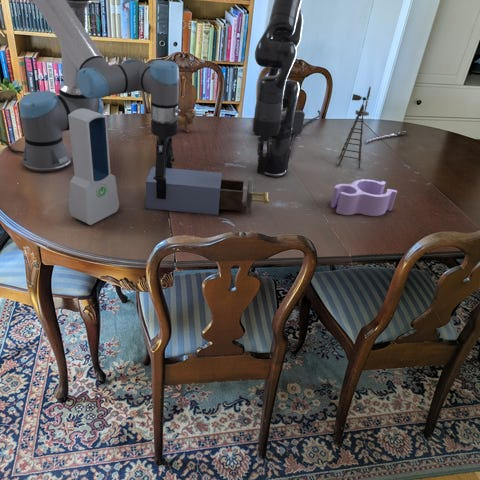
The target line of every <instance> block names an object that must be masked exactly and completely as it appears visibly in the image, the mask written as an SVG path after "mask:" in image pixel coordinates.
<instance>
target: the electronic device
mask: <svg viewBox="0 0 480 480" xmlns="http://www.w3.org/2000/svg"><path fill="white" fill-rule="evenodd" d="M68 119H69V128H70V130H69V135H70V136H69V137H70V145H71V154H72V155H71V156H72V164H73V172H74V175H73V176H72V178H71V180H70V181H69V184H70V185H69V196H68V197H69V199H68V211H69V213H70V216H71V217H73V218H74V219H76V220H78V221H81V222H83V223H84V224H87V225H89V226H92V225H94V224H96V223H98V222H99V221H102V220H103V219H105V218H107V217H109V216H111V215H113V214H115V213H117V212H118V210H119V208H120V202H119V195H118V188H117V181H116V175H114V174H112V173H111V161H110V145H109V143H110V142H109V130H108V116H107V115H106V114H104V113H103V114H100V113H97V112H94V111H91V110H88V109H77V110H75V111H73V112H71V113H70V114H69V115H68Z"/></svg>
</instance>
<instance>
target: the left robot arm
mask: <svg viewBox="0 0 480 480" xmlns="http://www.w3.org/2000/svg"><path fill="white" fill-rule="evenodd" d="M93 1H94V0H28V2H30V3H32V4H34V5H35V6H36V8H37V10H38V11H39V13H40V14H41V15H42V18H44V20H45V22H46V23H47V25H48V26H49V28H50V29H51V31H52V32H53V34H54V36H55V37H56V39H57V40H58V41H59V43H60V52H61V66H62V67H61V68H62V82H61V83H60V84H59V86H58V94H56V92H54V91H51V90H42V91H41V90H37V91H32V92H30V93H26V94H24V96H22V97H21V99H20V100H19V103H18V104H19V116H20V120H21V126H22V132H23V136H24V148H23V150H19V149H18V150H17V149H14V148H11V146H10V144H9V142H7V141H6V140H4V139H1V138H0V142H1V143H4V144H5V145H6V147H7V149H8V150H9V151H11V152H13V153H16V154H17V153H18V154H22V158H21V159H22V160H21V161H22V166H23V168H24V169H25V170H27V171H29V172H33V173H39V174H46V173H56V172H61V171H63V170H66V169H67V168H69V167H70V166H71V163H72V159H71V155H70V153H69V151H68V150H67V149H68V148H67V147H66V145H65V143H64V140H63V132H66V131H67V132H68V131H70V128H69V119H68V115H69V114H70V113H71V112H73V111H75V110H77V109H88V110H91V111H94V112H97V113H100V114H103V115H104V102H103V100H102V99H103V98H106V97H111V96H115V95H116V96H117V95H122V94H123V95H124V94H127V93H128V94H129V93H134V92H143V93H146V94H148V95H150V119H151V120H150V132H151V134H153V135H154V136H155V137H157V140H156V145H155V150H156V151H155V153H156V154H155V167H156V170H155V177H154V179H155V180H156V199H166V177H165V175H166V168H173V163H175V158H174V151H173V149H174V147H173V137H175V136H176V135H178V133H179V124H178V121H177V119H178V116H179V113H181V109H180V108H179V96H180V95H179V94H180V93H179V92H180V91H179V88H180V69H179V65H178V64H177V63H176V62H175V61H172V60H167V59H156V60H153V61H151V63H147V62H145V61H143V60H140V59H135V58H127V59H126V60H124V61H123V62H122V63H118V64H117V63H116V64H109V63H108V61H106V59H105V58H104V56H103V54H102V53H101V51H100V50H99V48H98V47H97V45H96V43H95V42H94V41H93V39H92V38H91V36H90V23H89V22H90V21H89V5H91V4H92V3H93Z"/></svg>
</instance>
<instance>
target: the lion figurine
mask: <svg viewBox="0 0 480 480" xmlns="http://www.w3.org/2000/svg"><path fill="white" fill-rule="evenodd" d="M196 119H197V110H195V109H194V108H190V109H188V110H187V111H186V112H184V113H183V114H182V115H178V119H177V121H178V126H183V130H184V131H185V132H186V133H189V132H190V130H189V128H190V127H189V126H190V125H193V123H194V122H195V121H196Z"/></svg>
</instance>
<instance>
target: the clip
mask: <svg viewBox="0 0 480 480" xmlns="http://www.w3.org/2000/svg"><path fill="white" fill-rule="evenodd" d="M386 184H387V182H386V181H385V180H381V181H378V180H375V179H369V178H368V179H367V178H361V179H356V180H354V181H353V182H352V183H338V184H336V185H335V186H334V188H333V193H332V198H331V203H330V207H331V208H336V210H335V213H337V214H339V215H343V216H351V215H355V214H360V215H364V216H370V217H378V216H382V215H384V214H386V212H387V211H392V210H393V206H394V203H395V201H396V197H397V194H398V190H397V189H393V188H387V189H386V192H385V188H386ZM384 192H385V193H384Z"/></svg>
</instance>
